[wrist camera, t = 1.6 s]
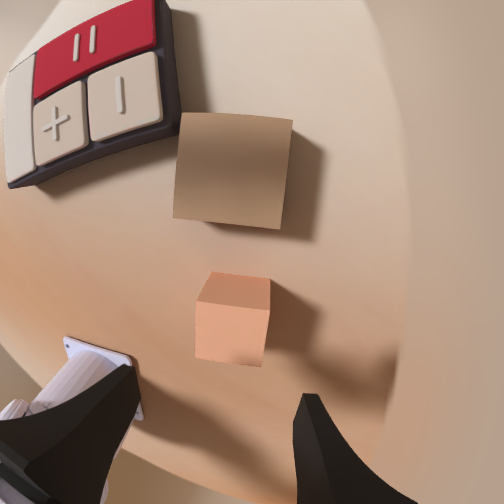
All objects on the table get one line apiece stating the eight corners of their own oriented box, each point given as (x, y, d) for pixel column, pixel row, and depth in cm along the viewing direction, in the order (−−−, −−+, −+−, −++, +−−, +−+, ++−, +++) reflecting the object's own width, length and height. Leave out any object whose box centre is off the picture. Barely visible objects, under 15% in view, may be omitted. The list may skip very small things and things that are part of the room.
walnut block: (278, 220, 18) (279, 229, 15) (187, 210, 18) (172, 218, 15) (288, 128, 16) (292, 119, 13) (195, 121, 16) (182, 112, 13)
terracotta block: (262, 328, 20) (260, 367, 16) (209, 321, 20) (195, 357, 16) (270, 278, 19) (270, 310, 14) (212, 271, 19) (195, 300, 15)
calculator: (169, 125, 13) (1, 192, 14) (187, 135, 17) (34, 186, 18) (158, -16, 10) (1, 71, 11) (174, 12, 14) (30, 79, 15)
